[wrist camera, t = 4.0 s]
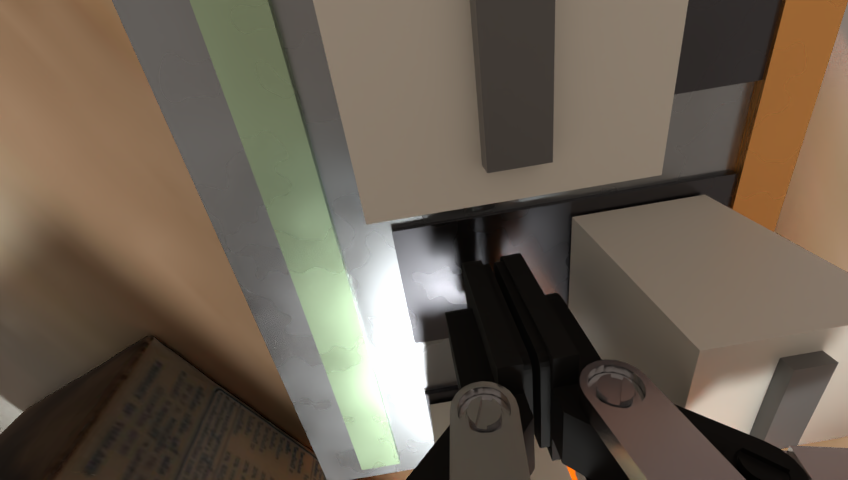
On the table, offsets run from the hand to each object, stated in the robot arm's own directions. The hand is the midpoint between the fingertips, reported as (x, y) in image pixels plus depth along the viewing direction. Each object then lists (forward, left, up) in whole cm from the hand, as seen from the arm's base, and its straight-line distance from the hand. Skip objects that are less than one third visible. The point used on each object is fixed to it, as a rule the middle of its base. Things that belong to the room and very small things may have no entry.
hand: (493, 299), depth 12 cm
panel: (0, -1, -3) cm, 4 cm away
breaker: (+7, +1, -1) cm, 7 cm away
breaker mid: (0, -5, -1) cm, 5 cm away
